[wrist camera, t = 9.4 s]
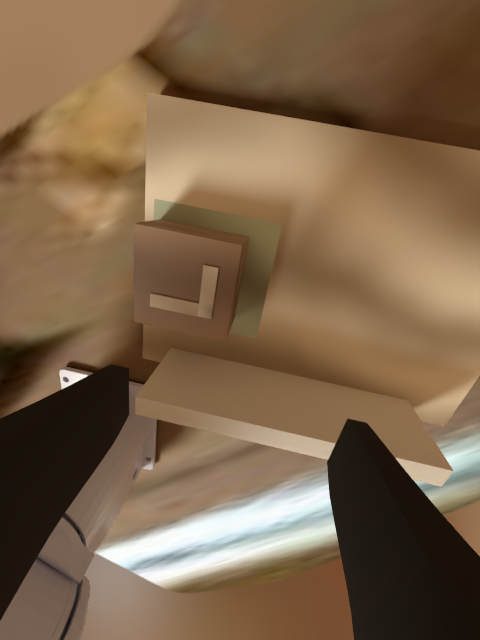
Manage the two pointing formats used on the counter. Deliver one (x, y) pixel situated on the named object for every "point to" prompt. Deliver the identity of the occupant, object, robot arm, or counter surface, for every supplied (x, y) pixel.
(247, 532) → the counter surface
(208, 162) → the birch board
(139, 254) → the walnut block
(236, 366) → the beige rectangular slab
